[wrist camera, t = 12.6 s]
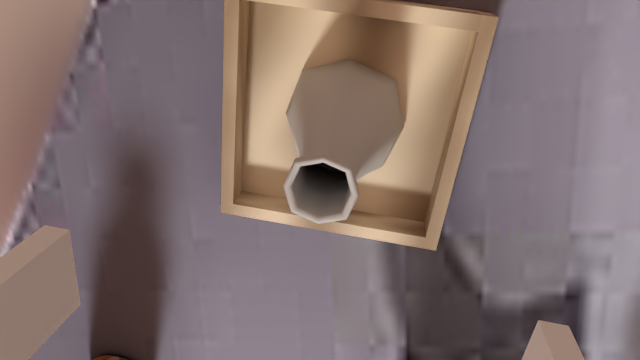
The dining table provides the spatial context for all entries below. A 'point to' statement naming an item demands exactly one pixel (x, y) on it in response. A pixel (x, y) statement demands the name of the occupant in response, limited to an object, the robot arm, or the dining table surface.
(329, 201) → the flask
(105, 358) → the sauce bottle
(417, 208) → the serving tray
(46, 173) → the dining table surface
